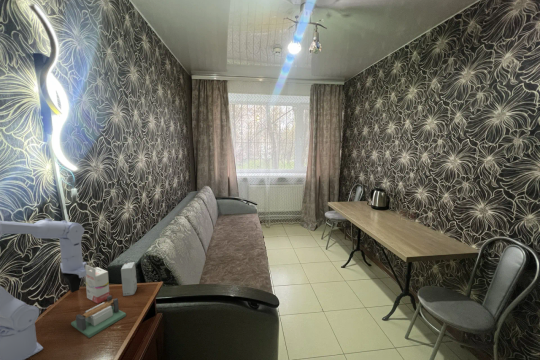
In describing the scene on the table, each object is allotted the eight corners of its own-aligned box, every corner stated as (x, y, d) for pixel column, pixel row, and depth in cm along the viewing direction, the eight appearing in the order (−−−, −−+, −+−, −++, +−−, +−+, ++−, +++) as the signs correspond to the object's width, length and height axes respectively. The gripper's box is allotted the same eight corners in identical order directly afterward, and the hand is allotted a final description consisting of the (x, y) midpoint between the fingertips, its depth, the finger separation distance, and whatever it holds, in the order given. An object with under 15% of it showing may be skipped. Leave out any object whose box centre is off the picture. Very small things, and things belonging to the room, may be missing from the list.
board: (89, 337, 77) (87, 321, 76) (71, 325, 82) (69, 309, 82) (126, 315, 87) (125, 300, 87) (108, 305, 93) (107, 291, 92)
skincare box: (134, 294, 100) (132, 267, 99) (122, 296, 99) (120, 269, 98) (137, 286, 106) (136, 261, 105) (126, 288, 105) (124, 262, 103)
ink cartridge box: (110, 297, 98) (108, 264, 96) (97, 304, 94) (94, 269, 92) (99, 291, 102) (97, 259, 100) (86, 298, 98) (83, 264, 96)
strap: (85, 318, 80) (85, 316, 80) (82, 316, 81) (82, 314, 81) (116, 302, 89) (116, 300, 89) (113, 300, 90) (113, 298, 89)
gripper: (95, 255, 84) (97, 290, 85) (75, 247, 90) (78, 280, 92) (71, 263, 78) (74, 301, 79) (51, 254, 84) (55, 289, 86)
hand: (74, 290), depth 85 cm, fingers closed
